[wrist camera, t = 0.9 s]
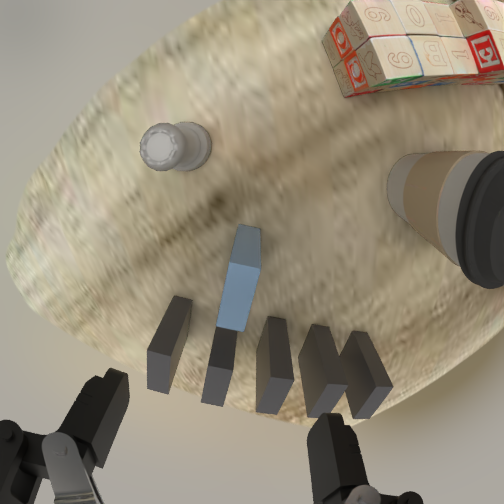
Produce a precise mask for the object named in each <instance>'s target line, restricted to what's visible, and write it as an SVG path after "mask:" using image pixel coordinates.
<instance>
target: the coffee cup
mask: <svg viewBox="0 0 504 504" xmlns="http://www.w3.org/2000/svg"><path fill="white" fill-rule="evenodd" d="M387 195H388V200H389V203H390V205H391V207H392V209H393V210H394V211H395V213H396V214H398V215H399V216H400V217H401V218H403V219H404V220H405V221H406V222H408V223H409V224H410V225H411V226H412V227H413V229H414V230H415V231H417V232H418V233H419V234H420V235H421V236H423V237H424V238H425V239H426V240H427V241H429V242H430V243H431V244H432V245H433V246H434V247H435V248H437V249H438V250H439V251H440V252H441V253H442V254H443V255H445V256H446V257H447V258H448V259H449V260H450V261H451V262H452V263H454V264H455V265H457V266H460V267H461V269H462V271H463V273H464V274H465V276H466V277H467V278H468V279H469V280H470V281H471V282H473V283H475V284H477V285H480V286H481V287H483V288H487V289H494V288H498V287H501V286H503V285H504V151H496V152H493V153H491V154H489V153H487V152H484V151H443V152H432V153H423V154H410V155H406V156H404V157H403V158H401V159H400V160H399V161H398V162H397V163H396V164H395V165H394V166H393V168H392V170H391V172H390V174H389V177H388V182H387Z"/></svg>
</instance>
